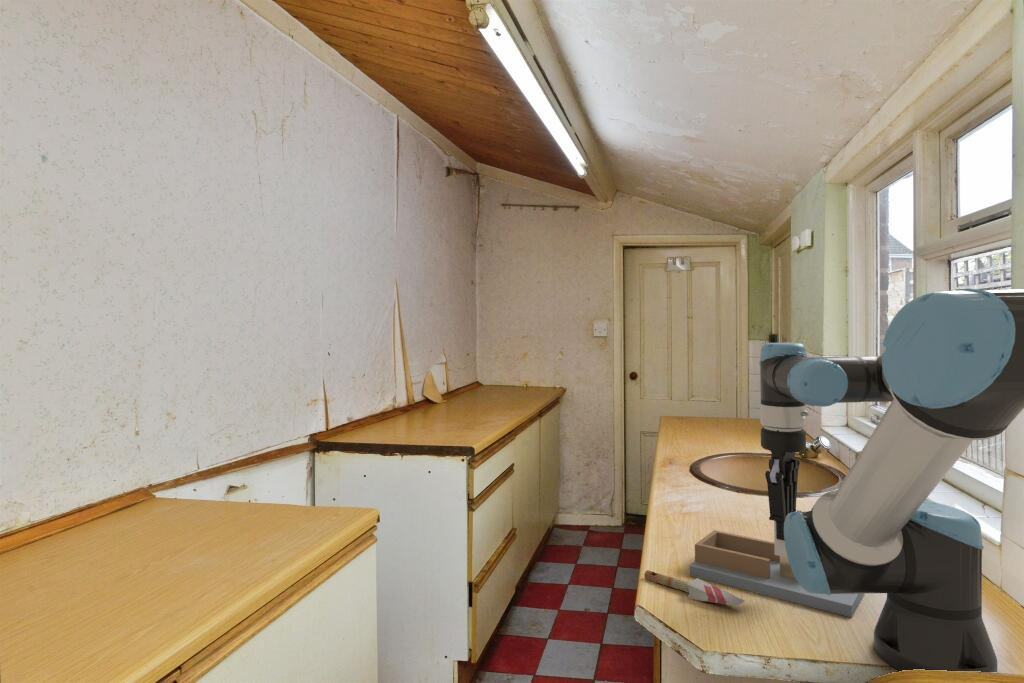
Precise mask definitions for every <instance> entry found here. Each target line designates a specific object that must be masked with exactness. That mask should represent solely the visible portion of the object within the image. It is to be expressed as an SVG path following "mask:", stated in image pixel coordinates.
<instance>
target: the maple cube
mask: <svg viewBox="0 0 1024 683" xmlns="http://www.w3.org/2000/svg"><path fill="white" fill-rule="evenodd" d="M780 576H784V577H789V578H793V579H796V578H795V576H794V574H793V572H792V569H791V566H790V563H789V560H788V558H787V557H782V556H780Z"/></svg>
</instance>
